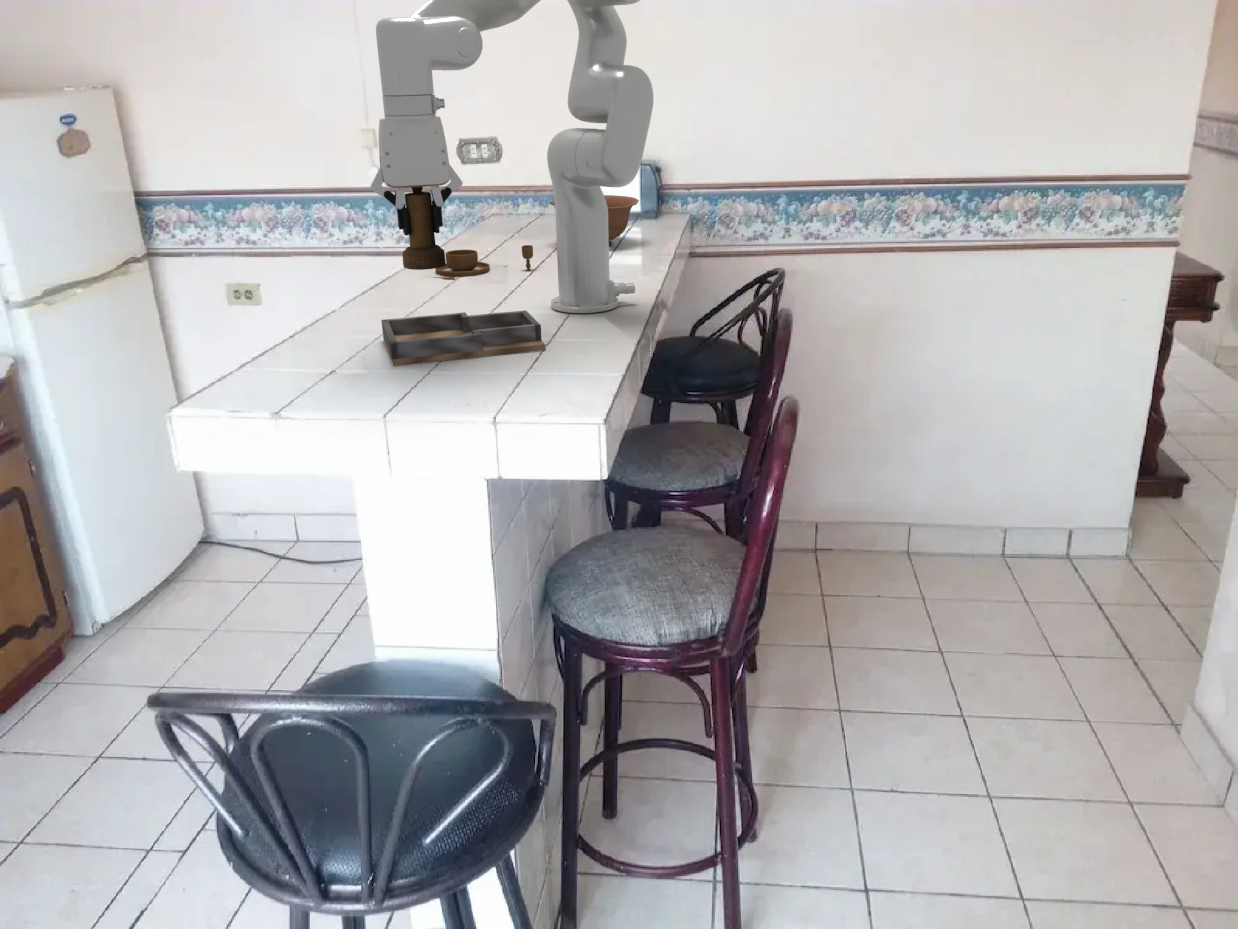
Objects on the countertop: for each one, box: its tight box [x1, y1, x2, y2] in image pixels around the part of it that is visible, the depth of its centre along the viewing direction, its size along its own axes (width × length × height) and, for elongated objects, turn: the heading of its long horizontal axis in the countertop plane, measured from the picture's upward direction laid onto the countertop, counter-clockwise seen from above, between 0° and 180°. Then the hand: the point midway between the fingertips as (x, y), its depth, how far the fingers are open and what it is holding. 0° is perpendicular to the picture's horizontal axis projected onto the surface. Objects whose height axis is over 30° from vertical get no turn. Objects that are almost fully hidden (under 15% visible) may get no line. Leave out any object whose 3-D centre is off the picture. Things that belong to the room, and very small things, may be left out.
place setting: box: [432, 244, 534, 281], centre depth 221 cm, size 18×20×6 cm
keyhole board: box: [380, 310, 546, 367], centre depth 165 cm, size 24×16×4 cm, turn 107°
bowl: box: [548, 194, 639, 247], centre depth 249 cm, size 22×22×11 cm
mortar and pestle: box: [401, 187, 446, 271], centre depth 156 cm, size 7×6×18 cm
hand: (421, 231), depth 157 cm, fingers closed on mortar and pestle, 4 cm apart
